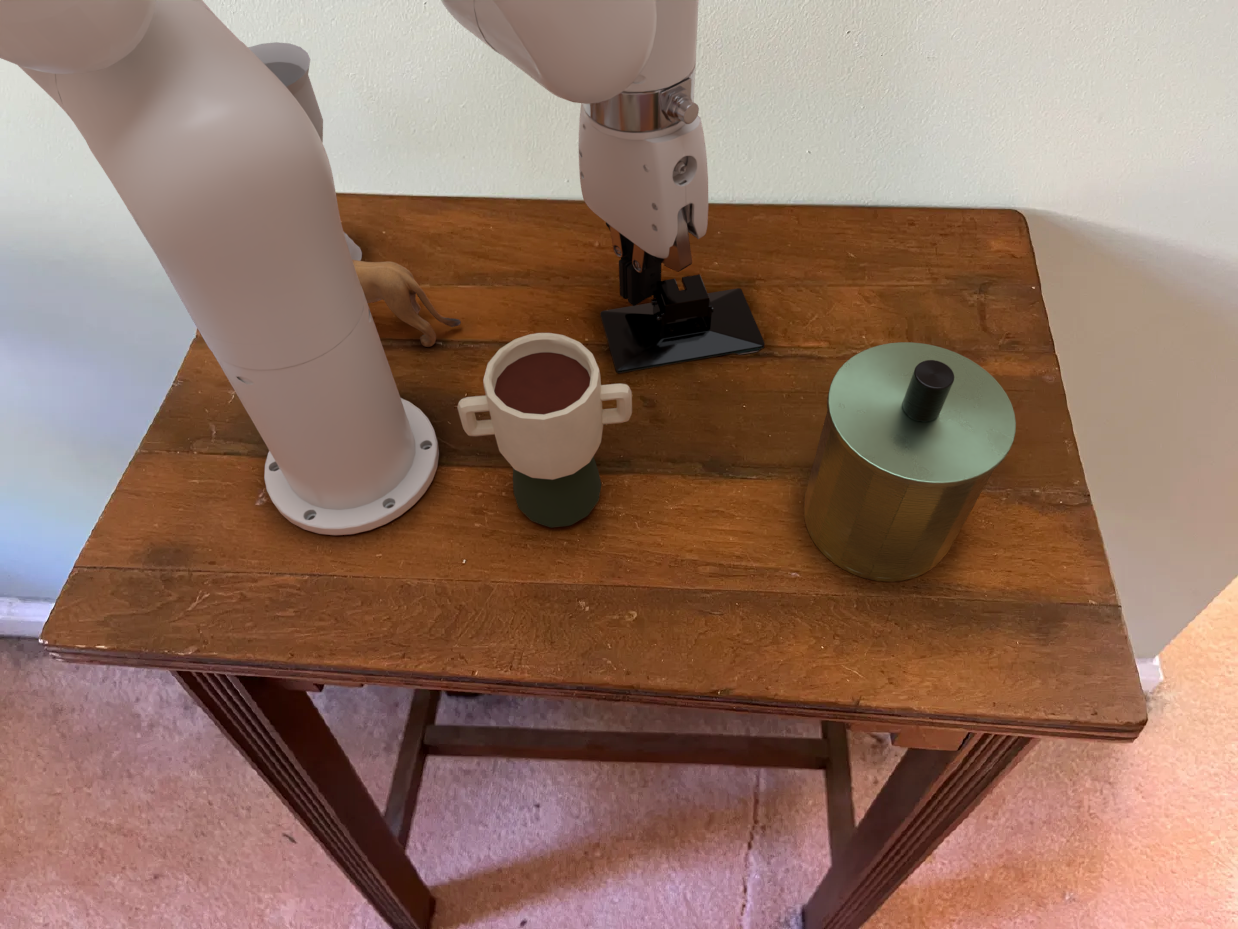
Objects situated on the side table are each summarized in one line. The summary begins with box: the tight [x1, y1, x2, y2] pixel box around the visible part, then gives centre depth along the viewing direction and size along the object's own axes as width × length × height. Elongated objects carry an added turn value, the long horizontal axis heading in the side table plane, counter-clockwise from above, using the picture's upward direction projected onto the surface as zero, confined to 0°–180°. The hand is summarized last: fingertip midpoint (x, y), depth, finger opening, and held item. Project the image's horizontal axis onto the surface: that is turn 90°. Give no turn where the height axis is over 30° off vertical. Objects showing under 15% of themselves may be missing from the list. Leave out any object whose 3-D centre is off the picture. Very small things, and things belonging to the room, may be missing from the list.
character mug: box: [456, 332, 633, 528], centre depth 57 cm, size 11×7×13 cm, turn 96°
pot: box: [803, 409, 994, 583], centre depth 56 cm, size 10×10×12 cm
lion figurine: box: [352, 260, 462, 348], centre depth 70 cm, size 15×5×9 cm, turn 88°
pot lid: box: [826, 341, 1017, 487], centre depth 50 cm, size 11×11×4 cm
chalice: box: [247, 41, 363, 261], centre depth 71 cm, size 7×7×18 cm
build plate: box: [599, 274, 766, 374], centre depth 70 cm, size 12×7×5 cm, turn 102°
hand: (640, 293), depth 72 cm, fingers closed
